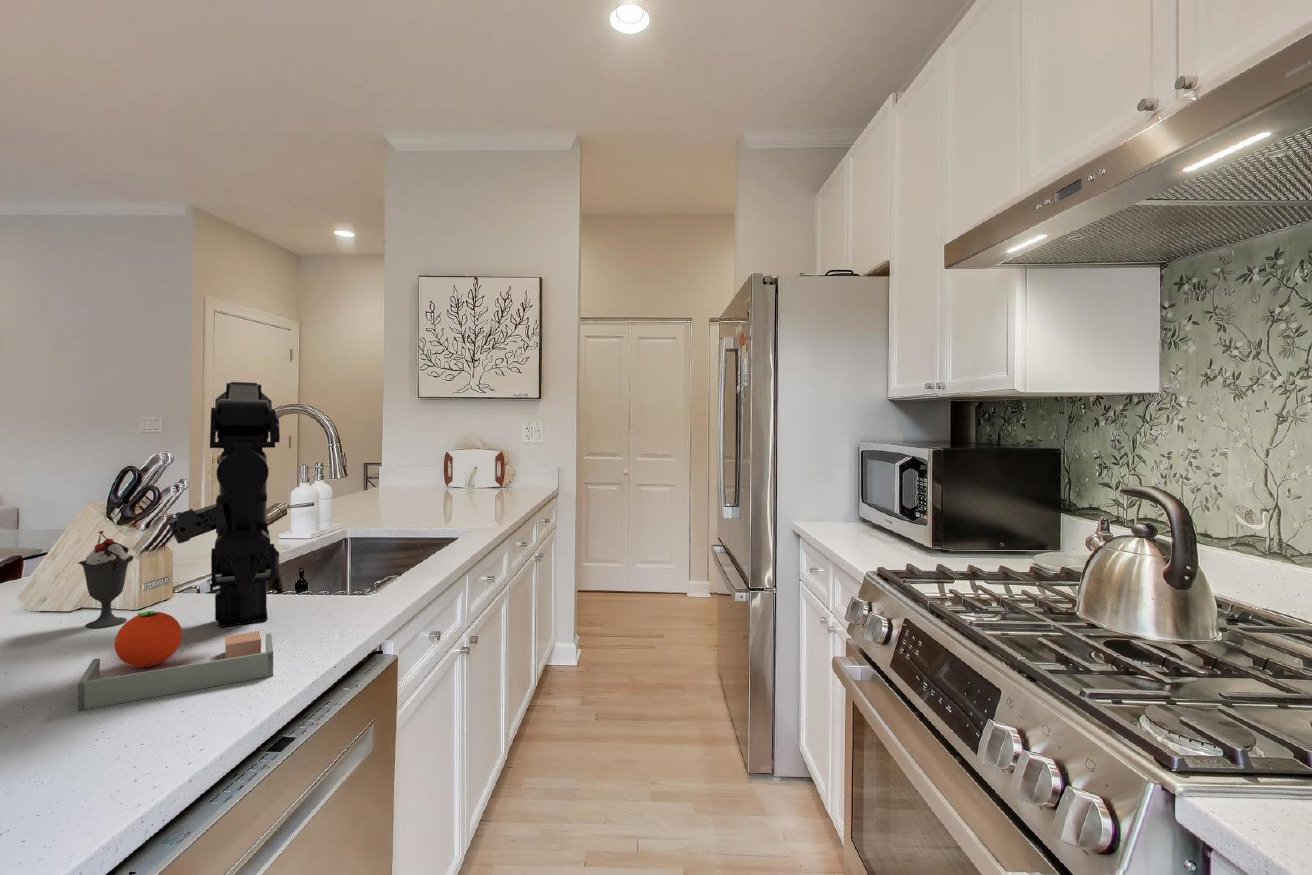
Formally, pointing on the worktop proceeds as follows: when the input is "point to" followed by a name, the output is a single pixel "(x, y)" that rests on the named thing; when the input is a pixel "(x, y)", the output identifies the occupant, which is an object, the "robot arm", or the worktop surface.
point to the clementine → (148, 639)
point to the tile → (242, 644)
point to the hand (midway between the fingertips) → (243, 593)
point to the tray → (170, 679)
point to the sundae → (106, 578)
